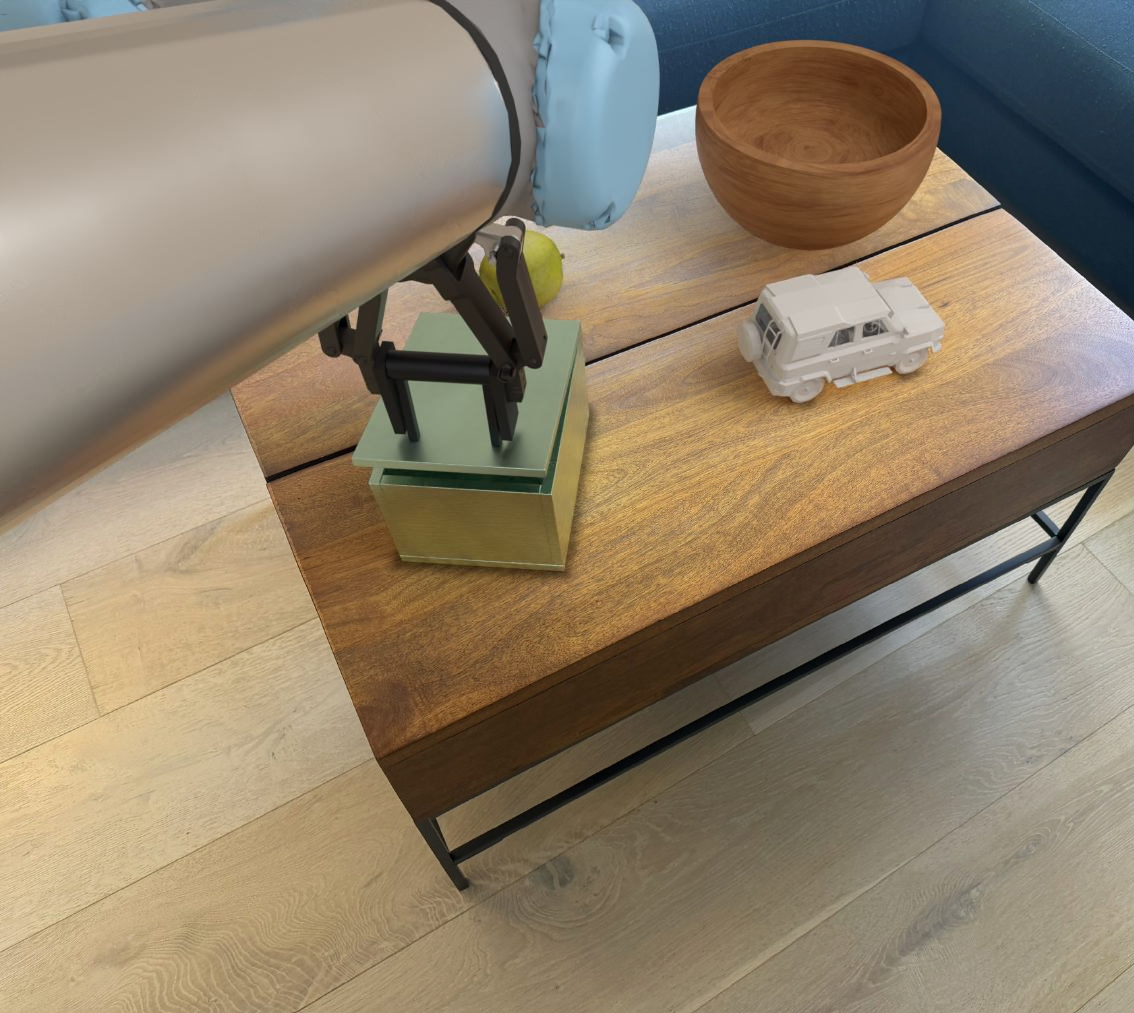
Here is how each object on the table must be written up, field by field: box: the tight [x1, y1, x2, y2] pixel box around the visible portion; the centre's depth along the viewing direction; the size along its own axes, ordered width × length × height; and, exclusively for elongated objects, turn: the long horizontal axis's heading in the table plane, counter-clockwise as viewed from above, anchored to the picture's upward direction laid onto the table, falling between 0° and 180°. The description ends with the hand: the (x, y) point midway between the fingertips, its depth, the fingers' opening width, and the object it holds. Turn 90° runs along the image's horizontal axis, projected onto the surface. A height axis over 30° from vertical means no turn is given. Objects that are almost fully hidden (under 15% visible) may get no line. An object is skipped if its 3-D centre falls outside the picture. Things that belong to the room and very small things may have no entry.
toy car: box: [736, 261, 946, 404], centre depth 86 cm, size 10×20×10 cm, turn 111°
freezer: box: [368, 328, 590, 572], centre depth 76 cm, size 18×14×11 cm
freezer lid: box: [351, 311, 582, 478], centre depth 67 cm, size 19×14×8 cm
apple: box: [478, 229, 566, 310], centre depth 92 cm, size 8×9×8 cm
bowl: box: [694, 39, 942, 251], centre depth 97 cm, size 25×25×15 cm
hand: (457, 423), depth 65 cm, fingers closed on freezer lid, 7 cm apart
